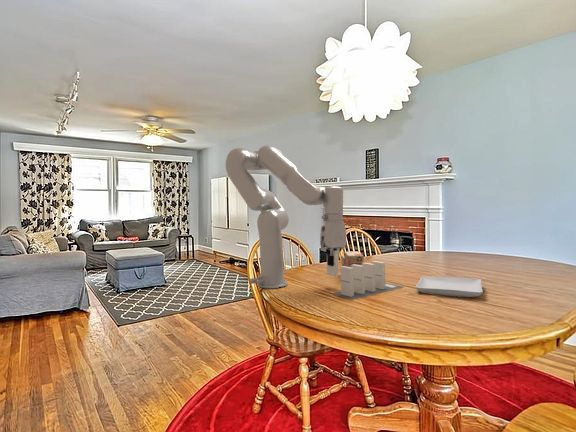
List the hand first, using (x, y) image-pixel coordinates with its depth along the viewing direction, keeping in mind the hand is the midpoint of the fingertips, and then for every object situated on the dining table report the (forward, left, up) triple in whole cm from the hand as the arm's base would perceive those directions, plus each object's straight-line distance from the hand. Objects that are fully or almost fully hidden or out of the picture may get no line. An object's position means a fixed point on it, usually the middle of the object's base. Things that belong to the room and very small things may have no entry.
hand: (332, 265), depth 135 cm
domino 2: (-3, -12, -9) cm, 15 cm away
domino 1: (0, 0, -4) cm, 4 cm away
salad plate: (+31, -30, -10) cm, 44 cm away
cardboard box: (+17, +7, -10) cm, 21 cm away
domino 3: (+2, -12, -9) cm, 15 cm away
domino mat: (+8, -12, -9) cm, 17 cm away
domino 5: (+13, -12, -9) cm, 20 cm away
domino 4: (+8, -12, -9) cm, 16 cm away
